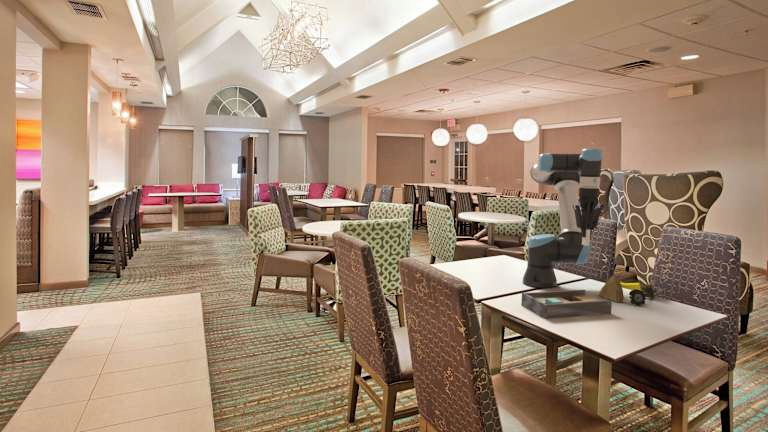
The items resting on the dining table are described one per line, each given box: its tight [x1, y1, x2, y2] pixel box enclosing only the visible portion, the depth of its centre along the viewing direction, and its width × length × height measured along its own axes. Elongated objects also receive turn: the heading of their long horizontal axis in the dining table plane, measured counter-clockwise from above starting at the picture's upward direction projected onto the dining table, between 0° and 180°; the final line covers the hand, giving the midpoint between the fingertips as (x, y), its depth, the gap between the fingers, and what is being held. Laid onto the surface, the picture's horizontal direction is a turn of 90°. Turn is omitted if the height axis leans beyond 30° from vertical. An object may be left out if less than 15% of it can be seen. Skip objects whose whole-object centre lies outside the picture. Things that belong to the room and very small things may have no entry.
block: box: [545, 298, 563, 304], centre depth 168 cm, size 5×5×4 cm
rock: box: [598, 274, 625, 303], centre depth 188 cm, size 11×9×10 cm
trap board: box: [520, 289, 613, 319], centre depth 173 cm, size 16×28×5 cm, turn 103°
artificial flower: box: [628, 279, 664, 307], centre depth 188 cm, size 9×22×10 cm, turn 127°
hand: (585, 245), depth 184 cm, fingers closed
